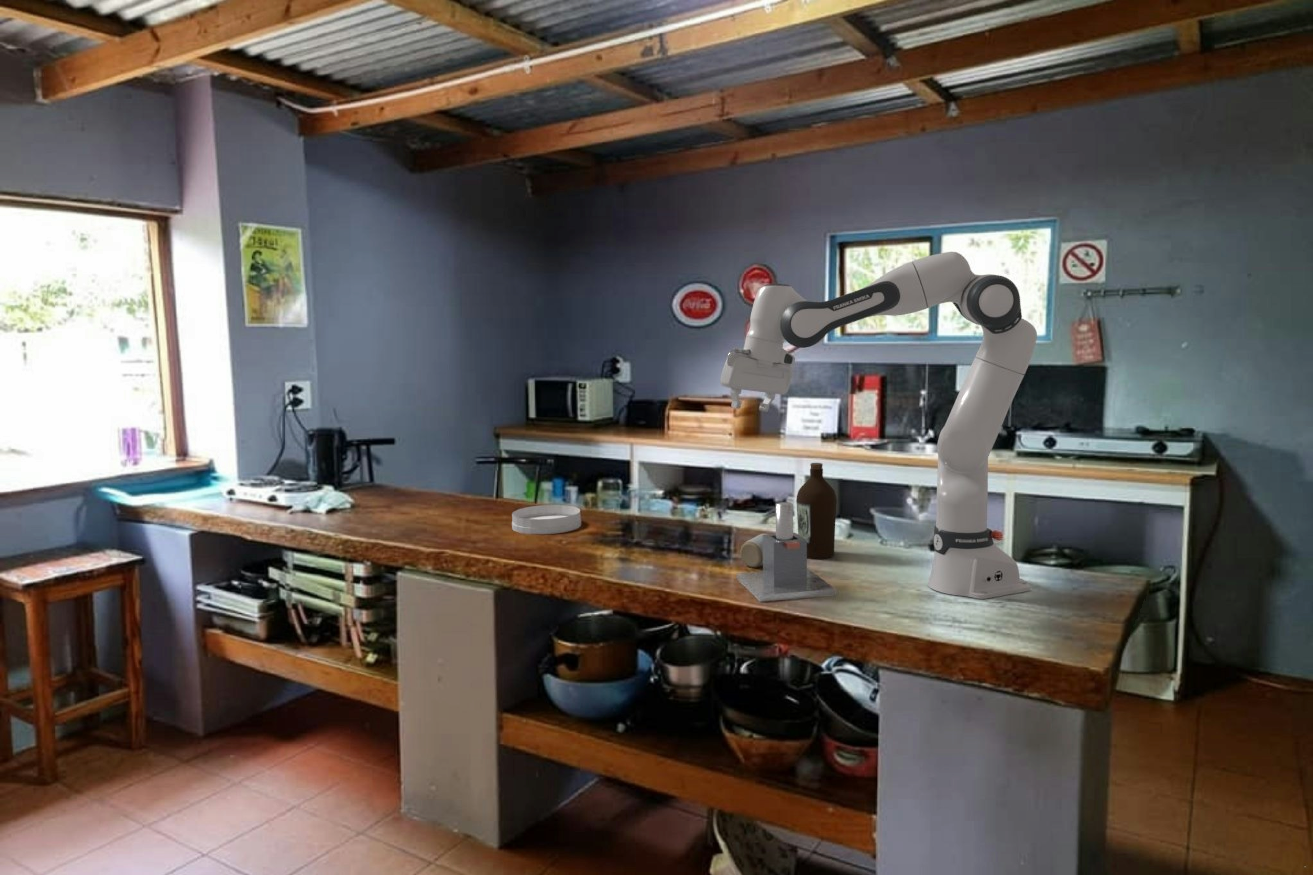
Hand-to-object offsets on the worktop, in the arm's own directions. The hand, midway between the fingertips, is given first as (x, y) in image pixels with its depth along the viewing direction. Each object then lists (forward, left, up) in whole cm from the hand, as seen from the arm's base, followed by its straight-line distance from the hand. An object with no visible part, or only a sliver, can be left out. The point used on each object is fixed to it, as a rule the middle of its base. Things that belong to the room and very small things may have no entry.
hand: (749, 409), depth 196 cm
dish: (+45, -75, -43) cm, 97 cm away
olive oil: (-24, -19, -42) cm, 52 cm away
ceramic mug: (-7, -12, -42) cm, 45 cm away
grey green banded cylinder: (-6, +6, -40) cm, 41 cm away
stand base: (-6, +6, -42) cm, 43 cm away
